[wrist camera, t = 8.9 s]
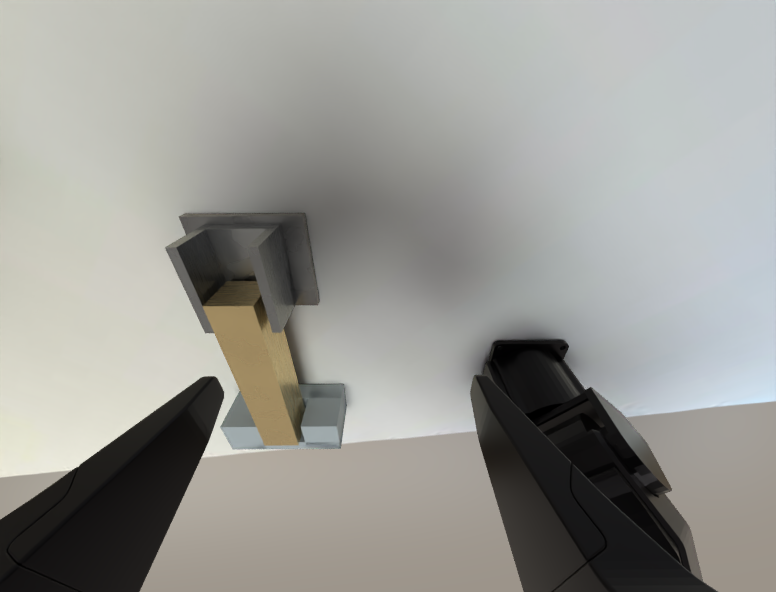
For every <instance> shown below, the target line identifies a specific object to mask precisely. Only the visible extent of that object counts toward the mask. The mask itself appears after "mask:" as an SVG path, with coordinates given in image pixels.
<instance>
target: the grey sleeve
mask: <svg viewBox="0 0 776 592" xmlns="http://www.w3.org/2000/svg"><path fill="white" fill-rule="evenodd" d="M179 218H180V221H181V223H182V226H183V228H184V230H185V233H186V236H184V237H182V238H180V239H179V240H177V241H175V242H174V243H172V244H170V245H169V246H167V247H165V248H166V251H167V253H168V255H169V257H170V259H171V261H172V263H173V266H174V268H175V270H176V272H177V274H178V276H179V278H180V280H181V283H182V285H183V287H184V289H185V291H186V293H187V295H188V297H189V300H190V302H191V304H192V306H193V308H194V310H195V312H196V314H197V317H198V319H199V321H200V323H201V325H202V327H203V329H204V331H205V333H214V331H213V329H212V327H211V324H210V322H209V320H208V318H207V315H206V313H205V311H204V309H203V307H202V306H203V305H204V304H205V303H206V302H207V301H208V300H209V299H210V298H211V297H212V296H213V295H214V294H215V293H216V292H217V291H218V290H219V289H220V288H221V287H222V286H223V285H224V284H225V283H226V282H227V281H257V283H258V286H259V290H260V293H261V296H262V300H263V303H264V306H265V310H266V313H267V316H268V320H269V323H270V326H271V330H272V333H282V331H283V329H284V327H285V325H286V323H287V320H288V318H289V316H290V314H291V312H292V310H293V308H294V306H295V305H318V303H319V295H318V289H317V283H316V277H315V271H314V265H313V259H312V253H311V247H310V241H309V235H308V229H307V223H306V217H305V213H244V214H183V215H181V216H179Z"/></svg>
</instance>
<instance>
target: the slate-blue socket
mask: <svg viewBox="0 0 776 592" xmlns="http://www.w3.org/2000/svg"><path fill="white" fill-rule="evenodd" d="M299 388H300V391H301V395H302V399H303V403H304V406H305V413H304V416H303V420H302V423H301V430H302V435H301V438H300V442H299V445H286V446H265V445H264V443H263V441H262V439H261V436H260V434H259V432H258V430H257V427H256V425H255V423H254V421H253V418H252V416H251V414H250V412H249V409H248V407H247V405H246V403H245V400H244V398H243V396H242V394H241V392H240V391H239V393H238V395H237V397H236V399H235V401H234V403H233V404H232V406H231V408H230V410H229V412H228V414H227V416H226V418H225V419H224V421H223V423H222V425H221V427H220V428H221V429H222V431H223V433H224V435H225V436H226V438H227V440H228V442H229V443H230V445H231V447H232V449H339V448H341V442H342V435H343V428H344V421H345V414H346V399H345V391H344V384H299Z"/></svg>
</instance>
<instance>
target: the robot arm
mask: <svg viewBox="0 0 776 592" xmlns="http://www.w3.org/2000/svg"><path fill="white" fill-rule="evenodd" d="M499 346H500V347H499ZM568 348H569V346H568V344H567V343H566V342H565V341H497V342H495V343H494V344H493V346H492V350H491V354H490V358H489V361H488V362H487V363H486V366H485V369H484V373H483V375H475V376H474V378H473V382H472V386H471V391H470V395H471V401H472V407H473V412H474V418H475V423H476V429H477V434H478V438H479V443H480V447H481V450H482V453H483V456H484V460H485V463H486V467H487V470H488V473H489V477H490V480H491V484H492V487H493V490H494V493H495V497H496V500H497V503H498V507H499V510H500V514H501V517H502V520H503V524H504V527H505V530H506V534H507V537H508V541H509V544H510V547H511V551H512V554H513V557H514V561H515V564H516V567H517V571H518V574H519V577H520V581H521V584H522V587H523V591H524V592H718V591H716V590H715V589H713V588H712V587H710V586H708V585H707V584H706V583H704V582H703V579H702V575H701V571H700V567H699V562H698V559H697V554H696V550H695V546H694V542H693V537H692V533H691V530H690V527H689V526H688V524H687V522H686V521H685V520H684V518H683V517H682V516H681V514H680V513H679V512H678V510H676V508H675V507H674V505H673V504H672V503H671V501H670V500H669V499H668V497H667V496H666V495H665V493H667V492H670V491H672V488H671V486H670V484H669V482H668V481H667V479H666V477H665V475H664V473H663V471H662V470H661V468H660V466H659V464H658V462H657V460H656V459H655V457H654V455H653V453H652V451H651V449H650V448H649V446H648V444H647V442H646V441H645V440H644V439H643V437H642V436H641V435H640V434H639V433H638V432H637V430H636V429H635V428H634V427H633V426H632V425H631V423H630V422H629V421H628V420H627V419H626V417H625V416H624V415H623V414H622V413H621V412H620V411H619V410H618V409H616V408H615V407H614V406H613V405H612V404H611V403H609V402H608V401H607V400H606V399H605V398H603V397H602V396H601V395H600V394H599V393H597V392H596V391H595V390H594V389H593V388H592V387H590V388H588V389H586V390H585V389H584V387H583V386H582V385H581V383H580V382H579V380H578V379H577V378H576V376H575V375H574V374H573V372H572V371H571V369H570V368H569V367H568V365H567V364H566V363H565V361H564V360H563V359H564V357H565V354H566V352H567V350H568ZM223 399H224V391H223V389H222V387H221V385H220V383H219V381H218V379H217V378H216V377H214V376H208V377H202V378H200V379H199V380H197V381H196V382H195V383H193V384H192V385H190V386H189V387H188V388H186V389H185V390H183V391H182V392H181V393H179V394H178V395H176V396H175V397H174V398H172V399H171V400H170V401H168V402H167V403H165V404H164V405H163V406H161V407H160V408H158V409H157V410H156V411H154V412H153V413H151V414H150V415H149V416H147V417H146V418H144V419H143V420H142V421H140V422H139V423H138V424H136V425H135V426H133V427H132V428H131V429H129V430H128V431H126V432H125V433H124V434H122V435H121V436H119V437H118V438H117V439H115V440H114V441H112V442H111V443H110V444H108V445H107V446H105V447H104V448H103V449H101V450H100V451H99V452H97V453H96V454H94V455H93V456H92V457H90V458H89V459H87V460H86V461H85V462H83V463H82V464H80V466H79V467H76V468H75V469H73V470H72V471H71V472H69V473H68V474H66V475H65V476H64V477H63V478H61V479H59V480H58V481H57V482H55V483H54V484H52V485H51V486H50V487H48V488H47V489H45V490H44V491H42V492H41V493H39V494H38V495H37V496H35V497H34V498H32V499H31V500H29V501H28V502H26V503H25V504H23V505H22V506H20V507H19V508H17V509H16V510H14V511H13V512H11V513H10V514H8V515H7V516H5V517H4V518H2V519H1V520H0V592H139V591H140V589H141V587H142V585H143V582H144V580H145V578H146V576H147V574H148V572H149V570H150V568H151V565H152V563H153V561H154V559H155V557H156V555H157V552H158V550H159V548H160V546H161V544H162V542H163V539H164V537H165V535H166V533H167V531H168V529H169V526H170V524H171V522H172V520H173V518H174V516H175V513H176V511H177V509H178V507H179V505H180V503H181V500H182V498H183V496H184V494H185V492H186V490H187V487H188V485H189V483H190V481H191V479H192V477H193V474H194V472H195V470H196V468H197V466H198V464H199V461H200V459H201V457H202V455H203V453H204V451H205V448H206V446H207V444H208V441H209V439H210V436H211V433H212V431H213V428H214V425H215V422H216V419H217V416H218V413H219V410H220V407H221V405H222V402H223Z"/></svg>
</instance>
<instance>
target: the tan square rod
mask: <svg viewBox="0 0 776 592" xmlns="http://www.w3.org/2000/svg"><path fill="white" fill-rule="evenodd" d="M202 307H203V309H204V311H205V313H206V315H207V318H208V320H209V322H210V324H211V327H212V329H213V331H214V333H215V336H216V338H217V340H218V342H219V345H220V347H221V349H222V351H223V354H224V356H225V358H226V360H227V362H228V365H229V367H230V369H231V371H232V374H233V376H234V378H235V380H236V383H237V385H238V387H239V389H240V392H241V394H242V396H243V398H244V400H245V403H246V405H247V407H248V409H249V412H250V414H251V416H252V418H253V421H254V423H255V425H256V427H257V430H258V432H259V434H260V436H261V439H262V441H263V443H264V445H265V446H286V445H299V442H300V438H301V435H302V430H301V423H302V420H303V416H304V413H305V406H304V403H303V399H302V395H301V391H300V388H299V384H298V380H297V376H296V373H295V369H294V365H293V362H292V358H291V354H290V350H289V347H288V343H287V339H286V336H285V332H284V329H283V331H282V333H272V330H271V326H270V323H269V320H268V316H267V313H266V310H265V306H264V303H263V300H262V296H261V293H260V290H259V286H258V283H257V281H227V282H226V283H225V284H224V285H223V286H222V287H221V288H220V289H219V290H218V291H217V292H216V293H215V294H214V295H213V296H212V297H211V298H210V299H209V300H208V301H207V302H206V303H205V304H204V305H203V306H202Z"/></svg>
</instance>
